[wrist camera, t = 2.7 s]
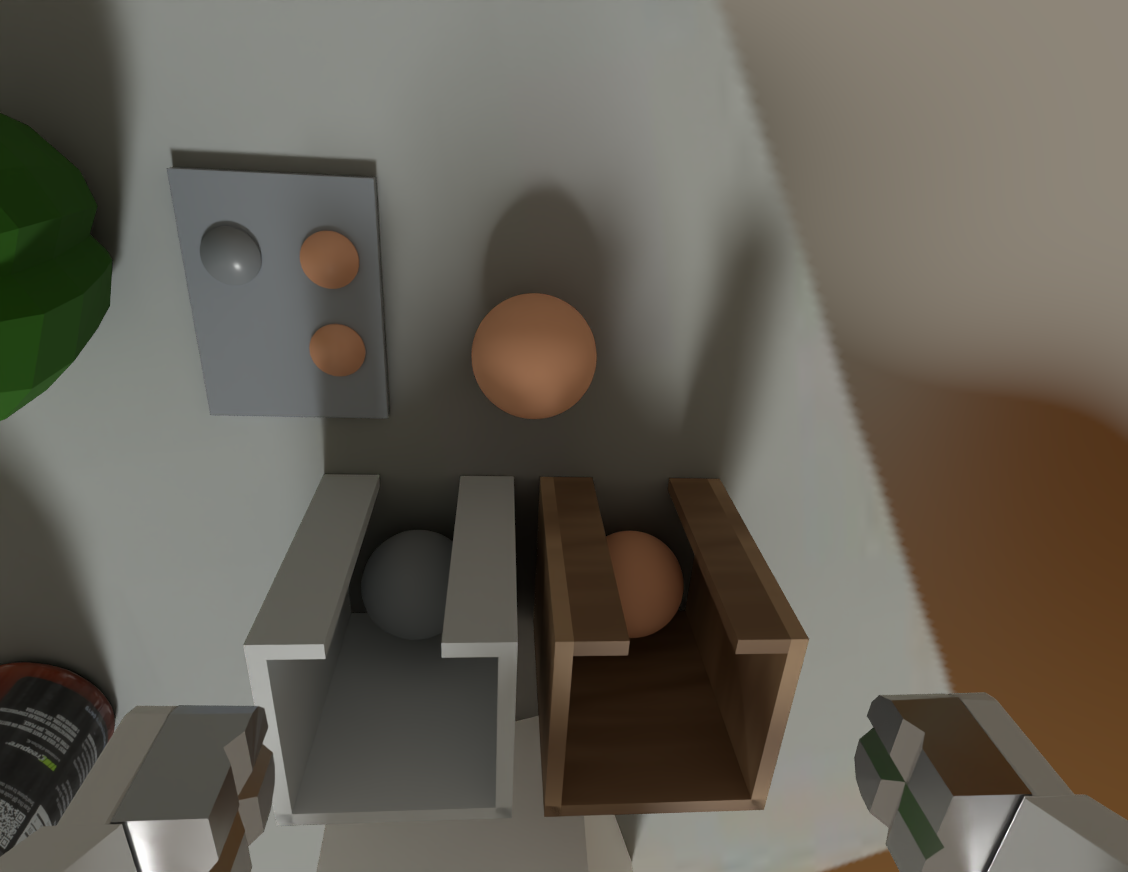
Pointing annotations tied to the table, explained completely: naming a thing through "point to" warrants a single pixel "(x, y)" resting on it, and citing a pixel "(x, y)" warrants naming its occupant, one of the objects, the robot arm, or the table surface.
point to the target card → (284, 291)
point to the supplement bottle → (45, 744)
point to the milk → (485, 834)
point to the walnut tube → (659, 665)
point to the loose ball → (534, 356)
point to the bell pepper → (44, 265)
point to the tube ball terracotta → (645, 581)
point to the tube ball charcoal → (408, 584)
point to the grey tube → (389, 672)
